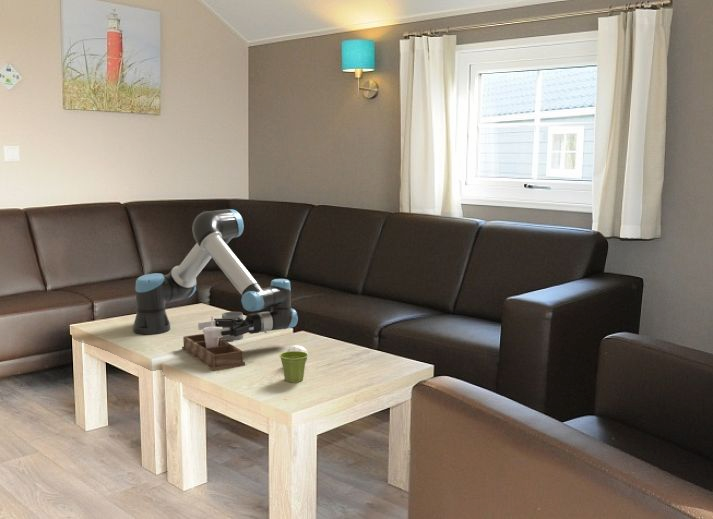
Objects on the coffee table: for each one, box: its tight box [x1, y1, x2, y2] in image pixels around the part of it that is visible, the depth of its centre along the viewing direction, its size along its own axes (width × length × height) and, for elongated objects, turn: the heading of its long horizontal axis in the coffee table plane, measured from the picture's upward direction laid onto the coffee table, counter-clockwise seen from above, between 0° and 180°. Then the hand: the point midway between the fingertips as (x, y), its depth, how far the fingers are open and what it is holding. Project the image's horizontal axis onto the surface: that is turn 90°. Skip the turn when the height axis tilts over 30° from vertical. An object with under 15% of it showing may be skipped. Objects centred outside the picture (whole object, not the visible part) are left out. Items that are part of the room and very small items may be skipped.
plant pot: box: [279, 351, 309, 383], centre depth 242 cm, size 9×9×9 cm
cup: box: [221, 311, 244, 342], centre depth 295 cm, size 8×8×10 cm
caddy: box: [181, 333, 246, 371], centre depth 269 cm, size 32×12×5 cm, turn 32°
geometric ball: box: [286, 344, 309, 364], centre depth 257 cm, size 8×8×8 cm
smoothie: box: [202, 316, 221, 348], centre depth 268 cm, size 6×6×14 cm
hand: (204, 330), depth 266 cm, fingers open, 13 cm apart
